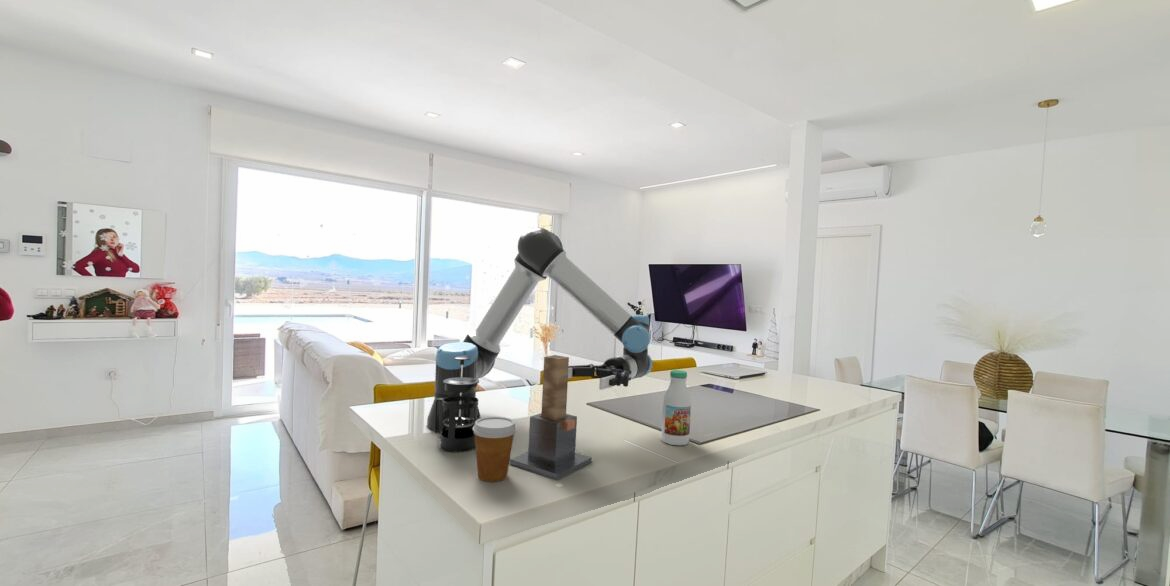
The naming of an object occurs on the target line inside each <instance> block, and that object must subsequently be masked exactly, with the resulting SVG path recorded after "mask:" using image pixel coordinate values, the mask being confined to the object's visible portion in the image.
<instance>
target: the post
mask: <svg viewBox="0 0 1170 586" xmlns="http://www.w3.org/2000/svg"><path fill="white" fill-rule="evenodd" d="M569 363H570V357H569V356H562V355H556V354H554V355H547V356H544V357H543V374H542V376H543V377H542V393H541V394H542V395H541V417H542V418H546V419H550V420H554V421H557V420H560V419H563V418H566V414H567V403H568V385H569V383H568V382H569V379H568V366H570V365H569Z"/></svg>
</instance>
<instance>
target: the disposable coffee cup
mask: <svg viewBox="0 0 1170 586" xmlns="http://www.w3.org/2000/svg"><path fill="white" fill-rule="evenodd" d="M473 431H474V434H475V445H476V448H475V454H476V455H475V456H476V470H477V478H478V479H479V480H480V481H483V482H489V483H491V482H492V483H493V482H500V481H503V480H505V479H506V478H507V476H508V471H509V466H510V459H511V456H512V455H511V453H512V448H513V441H514V437H515V433H516V432H517V426H516V422H515V420H514V419H512V418H509V417H505V416H487V417H481V419H478V420H477V421H475V425H474V426H473Z"/></svg>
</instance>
